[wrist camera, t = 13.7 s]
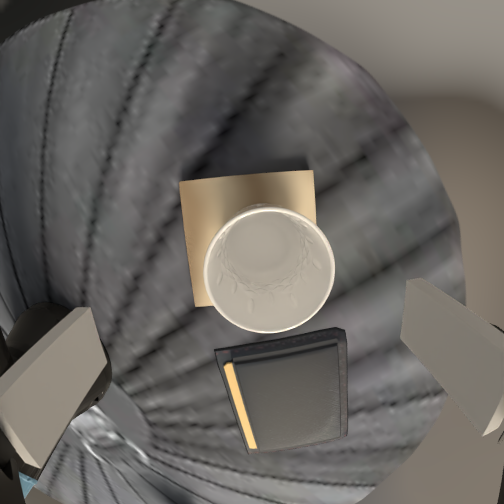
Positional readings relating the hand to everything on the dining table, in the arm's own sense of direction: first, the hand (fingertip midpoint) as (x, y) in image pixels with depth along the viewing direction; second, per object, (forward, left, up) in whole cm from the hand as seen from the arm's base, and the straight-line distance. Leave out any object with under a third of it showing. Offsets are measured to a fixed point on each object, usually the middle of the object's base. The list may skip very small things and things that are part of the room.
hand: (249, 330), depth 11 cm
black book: (+3, -21, -19) cm, 29 cm away
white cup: (+1, 0, -17) cm, 17 cm away
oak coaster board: (0, 0, -18) cm, 18 cm away
